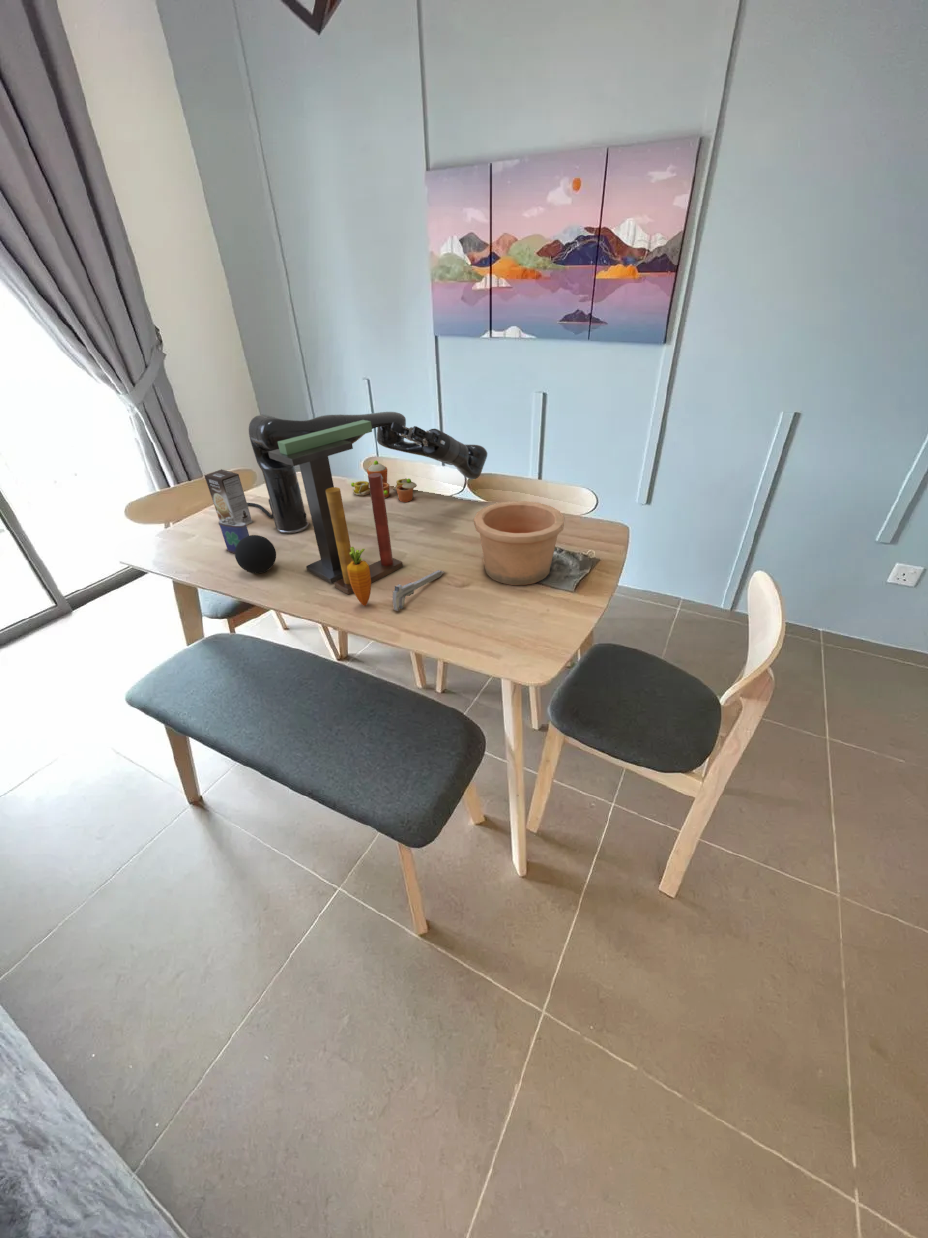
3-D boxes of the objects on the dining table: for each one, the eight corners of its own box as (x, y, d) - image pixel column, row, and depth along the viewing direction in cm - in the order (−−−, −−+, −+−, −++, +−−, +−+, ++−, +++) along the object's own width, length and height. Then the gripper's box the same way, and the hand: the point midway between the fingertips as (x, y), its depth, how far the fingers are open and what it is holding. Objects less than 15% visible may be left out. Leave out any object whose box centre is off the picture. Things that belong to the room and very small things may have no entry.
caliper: (397, 613, 113) (394, 589, 109) (394, 611, 113) (390, 588, 110) (444, 573, 127) (442, 551, 124) (440, 572, 128) (439, 550, 124)
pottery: (503, 600, 115) (504, 544, 107) (460, 562, 132) (458, 511, 124) (577, 576, 123) (583, 523, 115) (528, 543, 140) (530, 494, 131)
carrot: (355, 600, 118) (344, 543, 109) (376, 599, 118) (366, 542, 110) (353, 612, 114) (341, 554, 105) (374, 610, 114) (365, 552, 105)
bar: (364, 430, 124) (363, 419, 123) (372, 431, 122) (370, 421, 121) (280, 453, 110) (277, 441, 108) (287, 455, 108) (284, 443, 106)
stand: (348, 552, 139) (325, 435, 121) (372, 563, 133) (353, 442, 115) (298, 574, 129) (266, 451, 111) (323, 587, 123) (293, 459, 105)
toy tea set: (347, 495, 177) (342, 468, 171) (372, 481, 188) (368, 455, 182) (408, 505, 166) (405, 477, 161) (431, 490, 178) (429, 463, 172)
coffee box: (219, 523, 159) (202, 474, 150) (236, 516, 164) (220, 468, 155) (237, 529, 155) (221, 479, 146) (253, 522, 160) (239, 473, 151)
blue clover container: (256, 551, 142) (245, 516, 136) (249, 556, 139) (238, 520, 133) (231, 547, 145) (220, 513, 139) (224, 551, 142) (212, 517, 136)
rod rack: (389, 560, 134) (376, 469, 120) (403, 566, 131) (391, 473, 117) (335, 587, 123) (314, 490, 109) (348, 594, 120) (328, 496, 106)
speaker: (236, 570, 133) (224, 536, 127) (272, 558, 138) (263, 525, 132) (248, 584, 126) (236, 549, 120) (285, 571, 131) (276, 537, 125)
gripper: (427, 429, 148) (388, 410, 135) (462, 436, 140) (425, 416, 127) (420, 454, 149) (381, 437, 136) (455, 463, 141) (417, 445, 128)
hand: (402, 427), depth 132 cm, fingers open, 8 cm apart
